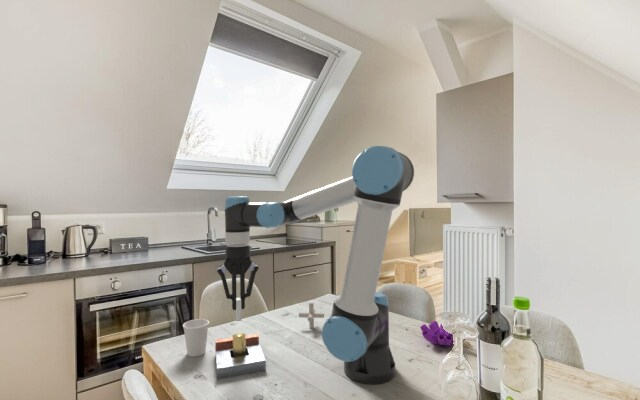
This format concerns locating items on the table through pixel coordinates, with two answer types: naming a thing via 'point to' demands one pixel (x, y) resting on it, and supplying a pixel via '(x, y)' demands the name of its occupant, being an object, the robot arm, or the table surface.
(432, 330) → the pipe connector assembly
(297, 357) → the table surface
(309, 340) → the table surface
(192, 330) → the dixie cup
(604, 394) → the table surface
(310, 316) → the pipe connector
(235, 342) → the brass cylinder
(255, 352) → the jig
